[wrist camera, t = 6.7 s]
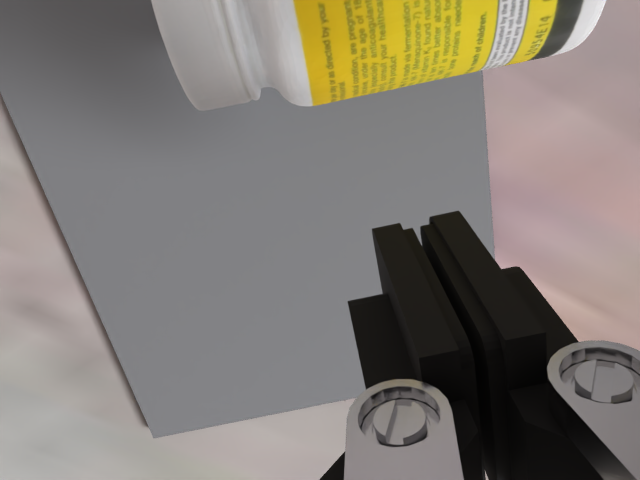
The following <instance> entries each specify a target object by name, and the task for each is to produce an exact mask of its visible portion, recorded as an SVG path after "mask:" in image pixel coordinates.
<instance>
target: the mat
mask: <svg viewBox="0 0 640 480" xmlns="http://www.w3.org/2000/svg"><path fill="white" fill-rule="evenodd" d="M0 93H1V95H2V98H3V100H4V102H5V104H6V107H7V109H8V111H9V113H10V116H11V118H12V120H13V122H14V125H15V127H16V129H17V131H18V134H19V136H20V138H21V140H22V143H23V145H24V147H25V150H26V152H27V154H28V156H29V159H30V161H31V163H32V165H33V168H34V170H35V172H36V174H37V177H38V179H39V181H40V183H41V186H42V188H43V190H44V192H45V195H46V197H47V199H48V201H49V204H50V206H51V208H52V210H53V213H54V215H55V217H56V219H57V222H58V224H59V226H60V228H61V231H62V233H63V235H64V237H65V240H66V242H67V244H68V246H69V249H70V251H71V253H72V255H73V258H74V260H75V262H76V264H77V267H78V269H79V271H80V273H81V276H82V278H83V280H84V282H85V285H86V287H87V289H88V291H89V294H90V296H91V298H92V300H93V303H94V305H95V307H96V309H97V312H98V314H99V316H100V318H101V321H102V323H103V325H104V327H105V330H106V332H107V334H108V336H109V339H110V341H111V343H112V345H113V348H114V350H115V352H116V354H117V357H118V359H119V361H120V363H121V366H122V368H123V370H124V373H125V375H126V377H127V379H128V382H129V384H130V386H131V388H132V391H133V393H134V395H135V397H136V400H137V402H138V404H139V406H140V409H141V411H142V413H143V415H144V418H145V420H146V422H147V424H148V427H149V429H150V431H151V433H152V436H153V438H158V437H163V436H168V435H173V434H178V433H183V432H188V431H193V430H198V429H203V428H208V427H213V426H218V425H223V424H228V423H233V422H238V421H243V420H248V419H253V418H258V417H263V416H267V415H272V414H277V413H282V412H287V411H292V410H297V409H302V408H307V407H312V406H317V405H322V404H327V403H332V402H337V401H342V400H347V399H352V398H357V397H358V396H359V395H360V394H362V393H363V392H364V391H365V390H366V388H365V383H364V378H363V373H362V369H361V364H360V359H359V354H358V350H357V345H356V340H355V335H354V330H353V325H352V321H351V316H350V311H349V306H348V301H350V300H355V299H360V298H365V297H370V296H375V295H379V294H382V288H381V282H380V276H379V270H378V265H377V259H376V253H375V247H374V242H373V235H372V229H373V228H377V227H382V226H387V225H392V224H397V223H400V224H401V226H402V228H403V230H404V229H409V228H413V229H414V231H415V233H416V235H417V237H418V239H419V241H420V243H421V245H422V241H421V233H420V227H421V226H423V225H428V224H429V218H430V216H435V215H440V214H445V213H449V212H454V211H460V212H461V214H462V215H463V217H464V218H465V219H466V221H467V222H468V223H469V225H470V226H471V228H472V229H473V230H474V232H475V233H476V235H477V236H478V237H479V239H480V240H481V242H482V243H483V244H484V246H485V247H486V249H487V250H488V251H489V253H490V254H491V256H492V257H493V258H494V260H495V254H494V239H493V224H492V209H491V194H490V179H489V164H488V149H487V134H486V120H485V105H484V90H483V75H482V70H481V71H477V72H472V73H467V74H463V75H458V76H453V77H448V78H443V79H438V80H434V81H429V82H424V83H420V84H415V85H410V86H406V87H401V88H397V89H393V90H387V91H382V92H377V93H373V94H368V95H363V96H358V97H354V98H349V99H345V100H340V101H336V102H331V103H327V104H321V105H316V106H298V105H295V104H292V103H291V102H289V101H287V100H286V99H285V98H284V97H283V96H282V95H281V94H280V93H279V91H278V90H276V89H275V88H272V87H264V88H261V93H260V98H259V99H258V100H253V99H252V100H251V101H249V102H247V103H242V104H237V105H232V106H227V107H222V108H217V109H212V110H206V111H201V110H198V109H196V108H195V107H194V106H193V104H192V103H191V102H190V100H189V99H188V97H187V95H186V94H185V92H184V90H183V88H182V86H181V84H180V82H179V80H178V78H177V75H176V73H175V71H174V68H173V66H172V63H171V61H170V58H169V55H168V52H167V50H166V47H165V44H164V41H163V39H162V36H161V33H160V30H159V27H158V23H157V20H156V17H155V13H154V10H153V6H152V2H151V0H0Z"/></svg>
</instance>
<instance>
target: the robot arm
mask: <svg viewBox="0 0 640 480" xmlns="http://www.w3.org/2000/svg"><path fill="white" fill-rule="evenodd" d="M420 233H421V241H422V245H421V243H420V241H419V239H418V237H417V235H416V233H415V231H414V229H413V228H409V229H404V230H403V228H402V226H401V224H400V223H397V224H392V225H387V226H382V227H377V228H373V229H372V235H373V242H374V247H375V253H376V259H377V265H378V270H379V276H380V282H381V288H382V294H379V295H375V296H370V297H365V298H360V299H355V300H350V301H348V306H349V311H350V316H351V321H352V325H353V330H354V335H355V340H356V345H357V350H358V354H359V359H360V364H361V369H362V373H363V378H364V383H365V388H366V390H365V391H364V392H363V393H362V394H360V395H359V396H358V397H357V398H356V399H355V401H354V402H353V404H352V405H351V407H350V409H349V412H348V416H347V425H346V446H345V452H344V453H343V454H342V455H341V456H340V458H339V459H338V460H337V461H336V462H335V463H334V464H333V465H332V466H331V468H330V469H329V470H328V471H327V472H326V473H325V474H324V475H323V476H322V477H321V479H320V480H486V479H485V471H486V474H487V476H488V479H489V480H640V351H639V350H637V349H634V348H631V347H629V346H626V345H623V344H620V343H614V342H609V341H583V342H578V340H577V339H576V338H575V337H574V335H573V334H572V333H571V331H570V330H569V329H568V328H567V326H566V325H565V324H564V322H563V321H562V320H561V319H560V317H559V316H558V315H557V313H556V312H555V311H554V310H553V308H552V307H551V306H550V304H549V303H548V302H547V301H546V299H545V298H544V297H543V296H542V294H541V293H540V292H539V290H538V289H537V288H536V287H535V285H534V284H533V283H532V281H531V280H530V279H529V278H528V276H527V275H526V274H525V272H524V271H523V270H522V269H521V268H520V267H511V268H506V269H501V268H500V267H499V265H498V264H497V263H496V261H495V260H494V258H493V257H492V256H491V254H490V253H489V251H488V250H487V249H486V247H485V246H484V244H483V243H482V242H481V240H480V239H479V237H478V236H477V235H476V233H475V232H474V230H473V229H472V228H471V226H470V225H469V223H468V222H467V221H466V219H465V218H464V217H463V215H462V214H461V212H460V211H454V212H449V213H445V214H440V215H435V216H430V218H429V224H428V225H423V226H421V227H420Z"/></svg>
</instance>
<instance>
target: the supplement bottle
mask: <svg viewBox="0 0 640 480" xmlns="http://www.w3.org/2000/svg"><path fill="white" fill-rule="evenodd" d="M151 2H152V6H153V10H154V13H155V17H156V20H157V23H158V27H159V30H160V33H161V36H162V39H163V41H164V44H165V47H166V50H167V52H168V55H169V58H170V61H171V63H172V66H173V68H174V71H175V73H176V75H177V78H178V80H179V82H180V84H181V86H182V88H183V90H184V92H185V94H186V95H187V97H188V99H189V100H190V102H191V103H192V104H193V106H194V107H195V108H196V109H198V110H201V111H206V110H212V109H217V108H222V107H227V106H232V105H237V104H242V103H247V102H249V101H251V100H252V99H253V100H258V99H259V98H260V93H261V88H264V87H272V88H275V89H276V90H278V91H279V93H280V94H281V95H282V96H283V97H284V98H285V99H286V100H287V101H289V102H291V103H292V104H295V105H298V106H316V105H321V104H327V103H331V102H336V101H340V100H345V99H349V98H354V97H358V96H363V95H368V94H373V93H377V92H382V91H387V90H393V89H397V88H401V87H406V86H410V85H415V84H420V83H424V82H429V81H434V80H438V79H443V78H448V77H453V76H458V75H463V74H467V73H472V72H477V71H481V70H486V69H491V68H496V67H501V66H505V65H510V64H515V63H520V62H524V61H529V60H534V59H539V58H544V57H548V56H552V55H557V54H561V53H564V52H567V51H569V50H571V49H573V48H575V47H577V46H578V45H579V44H581V43H582V42H583V41H584V40H585V39H586V38H587V37H588V35H589V34H590V33H591V32H592V30H593V29H594V27H595V25H596V23H597V21H598V19H599V18H600V15H601V13H602V10H603V8H604V5H605V2H606V0H151Z"/></svg>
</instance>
